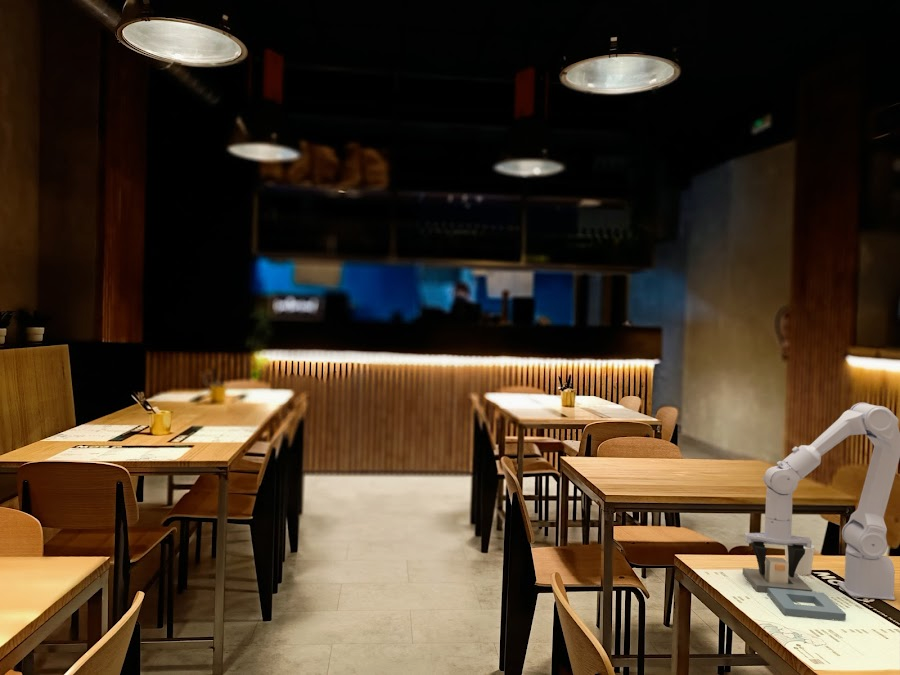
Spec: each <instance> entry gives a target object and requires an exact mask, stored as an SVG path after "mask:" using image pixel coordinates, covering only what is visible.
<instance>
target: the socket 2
mask: <svg viewBox="0 0 900 675" xmlns="http://www.w3.org/2000/svg"><path fill="white" fill-rule="evenodd" d="M766 594H767V595H768V597H769V598H770V599H771V600H772V602H773V603H774V604H775V605H776V607H777V608H778V609H779V610H780V612H781V613H782V614H783V615H784V616H788V617H789V616H790V617H797V618H798V617H800V618H810V619H820V620H821V619H822V620H830V619H834V620H833V621H840V620H846V621H847V618H846V617H847V616H846V615H847V614H846V612H845V611H844V610H842V608H840V607H839V605H837V604H836V602H834V601H833V600H832V599H831V598H830V597H829V596H828V595H826V594H825V593H824V592H823V591H821V592H820V591H812V592H811V591H800V590H788V589H777V588H767V593H766ZM795 602H799V603H801V602H802V603H810V604H814V605H807V604H799V603H798V604H797V603H795Z"/></svg>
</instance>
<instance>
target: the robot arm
mask: <svg viewBox="0 0 900 675" xmlns="http://www.w3.org/2000/svg"><path fill="white" fill-rule="evenodd" d="M857 435H866V437H867V438H868V439H869V441H870V442H871V443H872V445H873V451H872V453H871V458H870V462H869V463H868V464H869V465H868V469H867V472H866V477H865V479H864V480H865V481H864V483H863V488H862V491H861V494H860V499H859V503H858V505H857V509H856V510H855V511H854V512H852V513H851V514H850V517H849V520H848V522H847V523H846V524H844V525H843V527H842V530H841V535H842V536H841V537H842V540H844V542H845V543H846V547H845V562H844V582H839V581H838V582H837V585H838V587H840V588H841V589H842V590H844V591H845V592H846V593H847V594H848V595H849V596H850V597H857V598H865V599H866V598H868V599H869V598H870V599H880V600H891V601H896V597H895V594H894V593H895V565H894V562H893V560H892V559H891V558H890V557H889V556H887V555H884V554H885V553H886V552H887V550H888V541H887V531H888V529H887V526H886V523H885V519H884V518H885V514H886V510H887V506H888V502H889V498H890V496H891V495H890V494H891V491H892V488H893V484H894V480H895V476H896V473H897V469H898V466H899V463H900V429H899V418H898V417H897V416H896V415H895V414H894V413H893V411H891V410H890V409H889V408H887V407H885V406H884V405H883V406H882V405H874V404H871V403H870V404H869V403H868V402H858V403H855V404H853V405H852V406H851V407H850V409H847V410H845V411H844V412H842V414H841V415H840V417H838V419H837V420H835V422H833V423H832V424H831V425H830V426H829V427H828V428H827V429H825V431H823V432H822V433H821V434H820V435H819V436H818V437H817V438H816V439H815V440H814V441H813V442H812V443H811V444H809V445H805V444H803V445H802V444H801V445H799V446H798V447H797V446H794V447H793V448H792V449H791V451H792V452H791V453H790V454H789V455H787V456H785V458H784V459H783V460H782V461H781V460H778V461H777V462H776V464H777V465H775V466H771V467H769V468H767V470H766V471H765V472H764V473H765V474H764V475H763V476H762V481H763V484H764V485H765V486H766V494H765V496H766V497H765V512H764V514H765V516H764V517H765V518H764V532H744V540H743V541H745V543H747V544H750V545H751V547H752V549H753V552H754V555H755V558H756V561H757V565H758V569H759V572H760V574H761V575H765V559H766V557H767V552H768V549H767V548H766V545H777V546H778V545H779V546H785V545H787V546H788V563H789V567H788V575H789V576H790V577H794V574H795V571H796V568H797V565H798V563H799V561H800V560H801V558H802V557H803V555H804V554H805V549H804V547H807V548H811V545H813V544H812V543H813V542H812V541H813V540H812V538H810V537H805V536H799V535H792V524H793V519H792V518H793V493H794V492H795V491H796V490H797V489H798V484H799V482H800V481H802V480H803V479H804V478H805V477H806V476H808V474H810V473H811V472H813V471H814V470H815V469H816V468H818V466H820V465H821V462H822V456H823V455H825V454H826V453H827V452H829V451H830V450H832V449H833V448H834V447H835V446H837V445H838V444H840V443H841V442H842V441H844V440H845V439H846V438H848V437H850V436H857ZM765 544H766V545H765Z"/></svg>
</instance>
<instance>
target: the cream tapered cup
mask: <svg viewBox="0 0 900 675" xmlns="http://www.w3.org/2000/svg"><path fill="white" fill-rule="evenodd" d="M815 548H816V547H815V545H814V544H812V545H811V548H807V547H804V549H805V554H804V555H803V557H802V558H801V560H800V561H799V563H798V565H797V568H796V571H795V573H796V574H797V575H798V574H802V575H801V576H808V575H807V574H810V575H811V574H812V569H813V562H814V555H815ZM784 557H785V558H784V560H786V561H787V562H788V546H787V545H784Z"/></svg>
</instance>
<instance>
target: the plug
mask: <svg viewBox="0 0 900 675" xmlns="http://www.w3.org/2000/svg"><path fill="white" fill-rule="evenodd" d="M788 567H789V563H788V562H787V561H786V560H785V558H783V557H773V556H766V559H765V580H766V582H774V583H785V584H788Z"/></svg>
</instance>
